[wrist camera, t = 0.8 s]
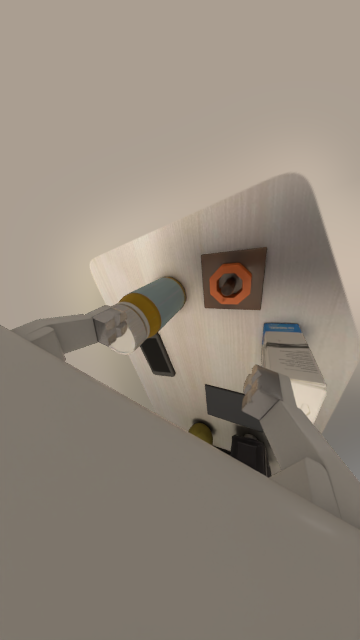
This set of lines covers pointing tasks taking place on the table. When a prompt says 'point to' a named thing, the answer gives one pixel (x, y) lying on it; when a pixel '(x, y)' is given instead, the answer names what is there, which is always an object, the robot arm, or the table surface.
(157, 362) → the cell phone
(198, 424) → the apple
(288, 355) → the ink box
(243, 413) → the mat
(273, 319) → the table surface
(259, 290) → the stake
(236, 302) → the ring
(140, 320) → the bottle
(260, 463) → the camera
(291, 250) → the table surface
